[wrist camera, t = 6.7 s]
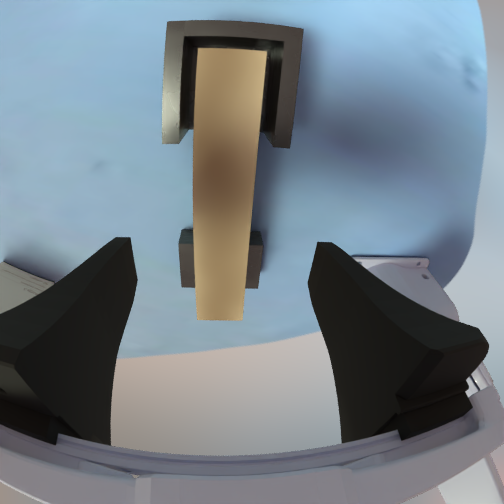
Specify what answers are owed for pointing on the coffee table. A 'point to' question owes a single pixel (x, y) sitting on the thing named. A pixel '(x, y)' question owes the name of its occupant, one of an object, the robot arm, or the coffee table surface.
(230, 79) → the rail
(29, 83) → the coffee table surface
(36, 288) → the supplement box
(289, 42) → the dark grey open box
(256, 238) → the rest block
